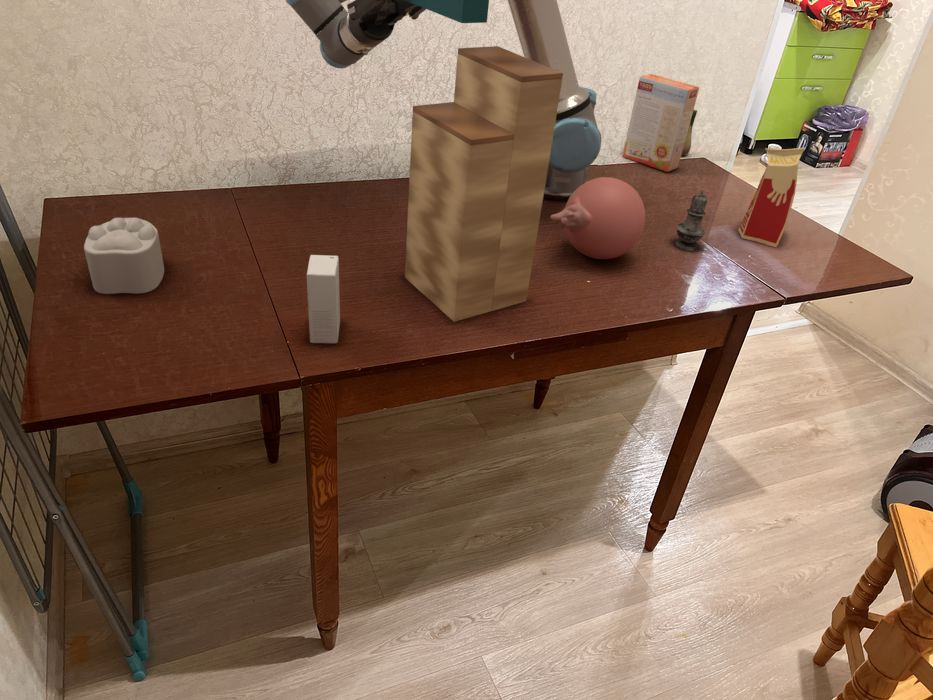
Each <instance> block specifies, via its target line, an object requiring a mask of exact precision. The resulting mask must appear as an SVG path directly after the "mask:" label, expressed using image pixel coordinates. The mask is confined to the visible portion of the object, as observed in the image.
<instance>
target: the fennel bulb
mask: <svg viewBox="0 0 933 700" xmlns="http://www.w3.org/2000/svg"><path fill="white" fill-rule="evenodd" d="M697 114H698V109H694V110H693V114H692V117H691V121H690V125H689V129H688V132H687V136H686V140H685V144H684V147H683V151H682V155H681V156H686V155H688V154H689V153H690V150H691V148H692V136H693V135H692V134H693V127H694V123H695V120H696V118H697V117H696V116H697Z"/></svg>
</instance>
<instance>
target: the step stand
mask: <svg viewBox="0 0 933 700" xmlns="http://www.w3.org/2000/svg"><path fill="white" fill-rule="evenodd" d="M456 56H457V57H456V69H455V83H454V92H453V93H454V94H453V101H449V102H448V101H447V102H438V103H430V104H421V105H419V104H418V105H413V106H412V114H411V115H412V117H411V118H412V119H411V139H410V157H409V158H410V159H409V160H410V162H409V180H408V181H409V182H408V201H407V204H408V205H407V222H406V225H407V226H406V244H405V248H406V249H405V265H404V267H405V268H404V278H405V279H406V280H407V281H408V282H409V283H410V284H411V285H412V286H413V287H415V288H416V289H417V290H418V291H419V292H420V293H421V294H422V295H424V296H425V297H426V298H427V299H428V300H429V301H430V302H431V303H432V304H434V306H436V308H438V309H439V310H440V311H441V312H442V313H444V314H445V315H446V316H447V317H448V318H449V319H450V320H451V321H452V322H454V323H456V322H458V321H461V320H465V319H470V318H472V317H475V316H480V315H483V314H486V313H490V312H494V311H497V310H501V309H505V308H508V307H511V306H513V305H514V306H515V305H518V304H521V303H525V302H527V299H528V293H529V289H530V288H529V287H530V281H531V275H532V270H533V269H532V268H533V264H534V263H533V262H534V256H535V250H536V244H537V238H538V232H539V225H540V220H541V214H542V208H543V200H544V198H543V195H544V189H545V183H546V177H547V171H548V165H549V158H550V152H551V146H552V140H553V134H554V128H555V122H556V115H557V109H558V103H559V97H560V91H561V85H562V78H563V73H562V72H560V71H557V70H555V69H552V68H550V67H547V66H545V65H542V64H540V63H538V62H535V61H533V60H530V59H528V58H525V57H524V55H523V56H522V55H520V54H518V53H515V52H513V51H510V50H508V49H505V48H503V47H500V46H498V45H495V46H494V45H493V46H491V45H490V46H476V47H474V46H473V47H459V48H457V55H456Z"/></svg>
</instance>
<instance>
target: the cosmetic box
mask: <svg viewBox="0 0 933 700" xmlns="http://www.w3.org/2000/svg"><path fill="white" fill-rule="evenodd" d="M339 261H340V260H339V256H338V255H326V254H325V255H324V254H310V255H309V260H308V265H307V270H306V285H307V286H306V291H307V308H308V309H307V310H308V329H309V331H308V332H309V342H310V343H311V344H338V342H339V333H340V326H341V304H340V303H341V301H340V298H341V297H340V263H339Z"/></svg>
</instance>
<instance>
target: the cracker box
mask: <svg viewBox="0 0 933 700" xmlns="http://www.w3.org/2000/svg"><path fill="white" fill-rule="evenodd" d="M699 91H700V86H697V85H693V84H689V83H686V82H682V81H679V80H675V79H672V78H669V77H668V78H667V77H664V76H660V75H658V74H657V75H656V74H653V73H648V74H645V75H641V76H639V80H638V84H637V88H636V93H635V97H634V101H633V105H632V110H631V115H630V119H629V123H628V128H627V133H626V138H625V142H624V146H623V151H622V157H623V158H626V159H628V160H631V161H634V162H637V163H640V164H642V165H646V166H648V167H652V168H654V169H657V170H659V171H663V172H665V173H669V172H672V171H674V170H677V169H678V168H679V166H680V162H681V158H682V156H683V155H682V151H683V147H684V144H685V140H686V136H687V132H688V129H689V125H690V121H691V117H692V114H693V110H695V106H696V102H697V98H698V94H699Z"/></svg>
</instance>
